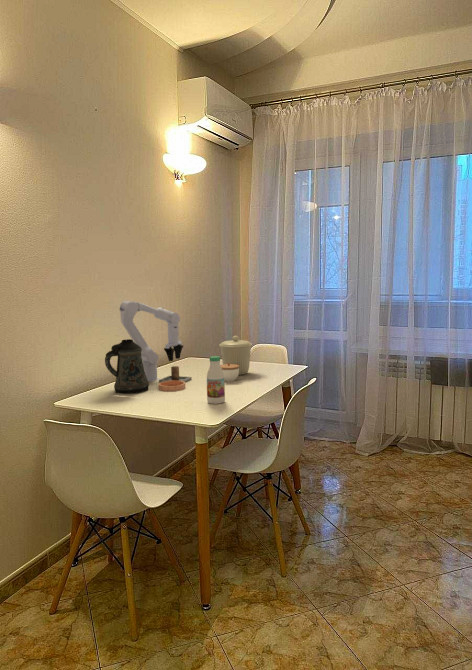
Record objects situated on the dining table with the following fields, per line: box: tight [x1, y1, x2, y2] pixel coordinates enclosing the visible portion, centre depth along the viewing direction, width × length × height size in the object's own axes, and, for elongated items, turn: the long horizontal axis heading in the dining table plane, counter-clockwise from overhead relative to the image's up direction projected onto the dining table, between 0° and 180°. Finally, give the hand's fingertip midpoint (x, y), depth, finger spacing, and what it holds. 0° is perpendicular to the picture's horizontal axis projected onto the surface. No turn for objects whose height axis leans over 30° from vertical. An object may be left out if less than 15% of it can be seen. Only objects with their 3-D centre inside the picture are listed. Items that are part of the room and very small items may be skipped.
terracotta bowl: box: [158, 381, 186, 392], centre depth 252 cm, size 13×13×3 cm
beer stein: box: [104, 338, 150, 395], centre depth 247 cm, size 16×19×25 cm
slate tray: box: [158, 375, 193, 384], centre depth 267 cm, size 13×11×2 cm
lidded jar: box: [220, 363, 239, 383], centre depth 268 cm, size 11×11×9 cm
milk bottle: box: [206, 355, 226, 405], centre depth 224 cm, size 8×8×20 cm
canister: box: [218, 335, 253, 376], centre depth 284 cm, size 18×18×21 cm
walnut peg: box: [170, 365, 180, 381], centre depth 266 cm, size 4×4×7 cm
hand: (174, 359), depth 280 cm, fingers open, 7 cm apart
